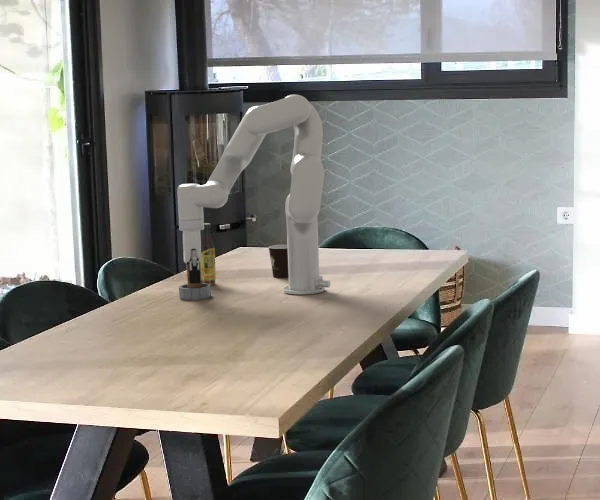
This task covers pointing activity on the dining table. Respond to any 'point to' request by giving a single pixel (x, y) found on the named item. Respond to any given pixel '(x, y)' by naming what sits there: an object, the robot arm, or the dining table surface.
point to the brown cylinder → (194, 285)
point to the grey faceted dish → (195, 292)
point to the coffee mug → (279, 261)
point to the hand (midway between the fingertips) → (194, 280)
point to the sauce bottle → (207, 256)
